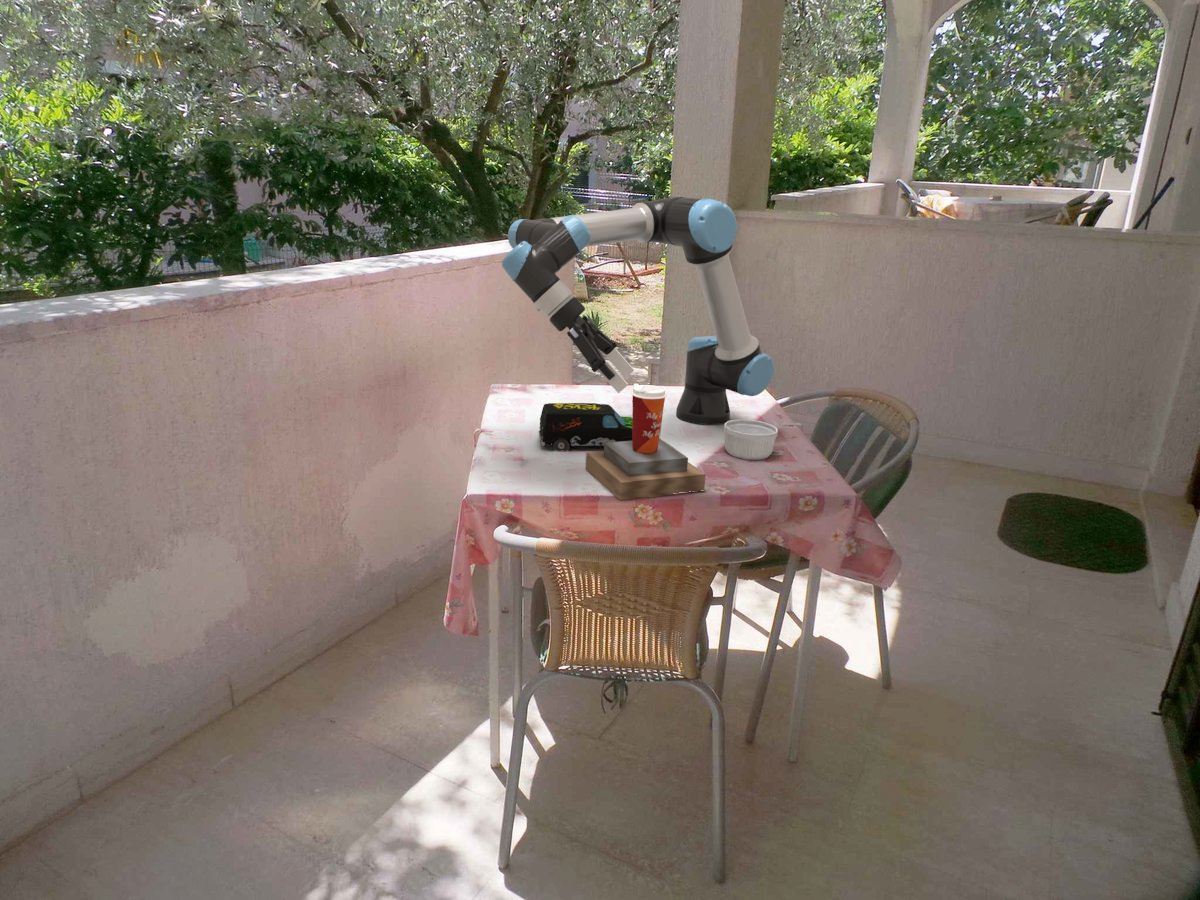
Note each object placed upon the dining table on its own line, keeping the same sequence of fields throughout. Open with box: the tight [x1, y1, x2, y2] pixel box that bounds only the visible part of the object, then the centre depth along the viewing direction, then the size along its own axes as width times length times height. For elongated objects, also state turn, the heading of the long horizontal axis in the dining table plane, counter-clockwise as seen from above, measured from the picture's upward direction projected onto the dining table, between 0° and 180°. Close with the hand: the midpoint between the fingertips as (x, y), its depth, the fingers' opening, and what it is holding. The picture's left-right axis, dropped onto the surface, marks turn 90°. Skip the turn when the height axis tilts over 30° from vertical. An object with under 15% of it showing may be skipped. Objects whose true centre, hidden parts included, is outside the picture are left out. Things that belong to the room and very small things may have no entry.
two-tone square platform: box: [585, 438, 707, 501], centre depth 190 cm, size 20×20×7 cm
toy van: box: [538, 402, 632, 452], centre depth 211 cm, size 11×25×10 cm, turn 98°
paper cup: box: [630, 384, 667, 454], centre depth 187 cm, size 8×8×14 cm
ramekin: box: [723, 418, 779, 461], centre depth 212 cm, size 13×13×7 cm
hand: (626, 381), depth 184 cm, fingers open, 13 cm apart
